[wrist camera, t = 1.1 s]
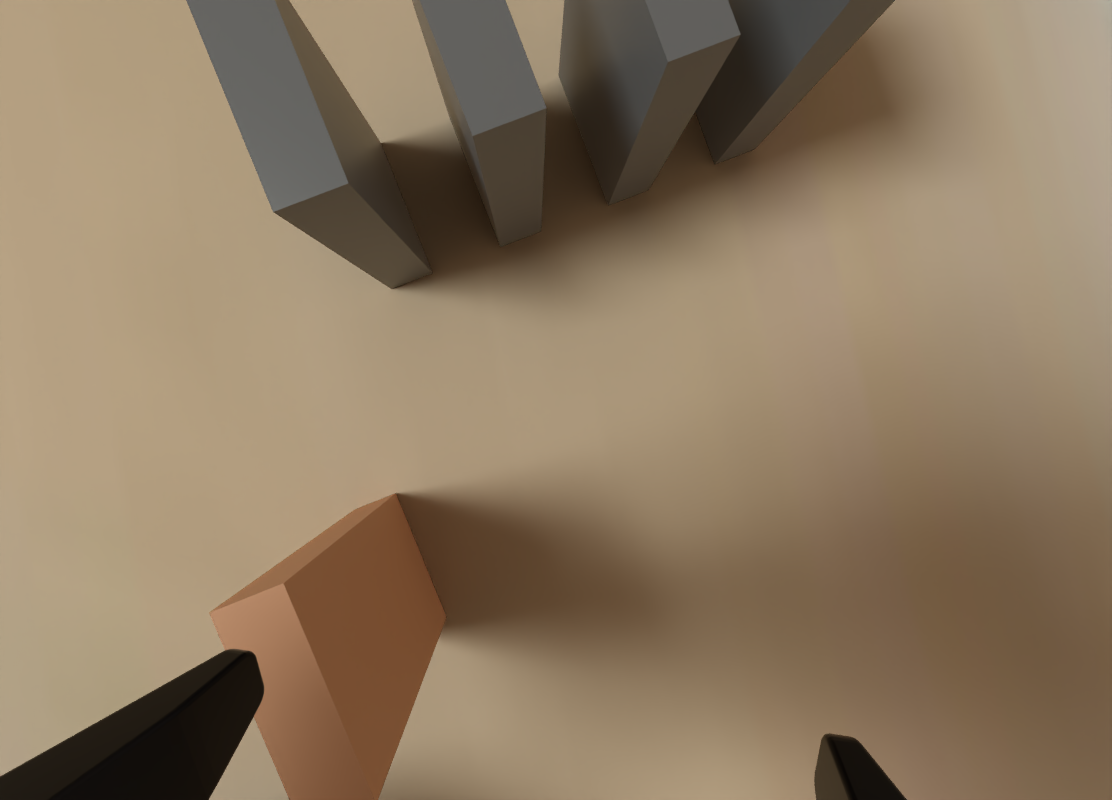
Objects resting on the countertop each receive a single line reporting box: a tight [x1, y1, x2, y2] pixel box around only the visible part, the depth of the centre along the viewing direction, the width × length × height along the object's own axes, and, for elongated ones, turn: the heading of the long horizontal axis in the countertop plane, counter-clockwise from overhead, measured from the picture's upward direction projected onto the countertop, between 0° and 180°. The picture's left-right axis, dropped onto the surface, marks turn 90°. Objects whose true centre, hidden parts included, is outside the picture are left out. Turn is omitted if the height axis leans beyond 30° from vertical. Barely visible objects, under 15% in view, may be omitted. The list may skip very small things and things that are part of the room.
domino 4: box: [559, 0, 741, 205], centre depth 16 cm, size 2×5×9 cm, turn 22°
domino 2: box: [209, 493, 446, 800], centre depth 16 cm, size 2×5×9 cm, turn 22°
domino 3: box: [412, 0, 547, 247], centre depth 15 cm, size 2×5×9 cm, turn 22°
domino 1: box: [186, 0, 432, 289], centre depth 15 cm, size 2×5×9 cm, turn 22°
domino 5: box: [695, 0, 895, 164], centre depth 16 cm, size 2×5×9 cm, turn 21°
